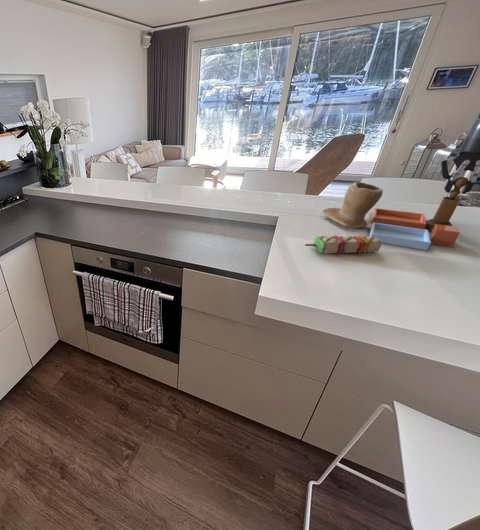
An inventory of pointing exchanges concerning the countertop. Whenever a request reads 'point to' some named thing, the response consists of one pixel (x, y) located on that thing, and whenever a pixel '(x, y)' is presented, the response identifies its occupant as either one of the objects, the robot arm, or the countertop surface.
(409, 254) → the countertop surface
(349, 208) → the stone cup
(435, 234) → the terracotta block
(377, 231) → the light blue tray
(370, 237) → the skewer
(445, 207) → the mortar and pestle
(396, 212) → the terracotta tray
